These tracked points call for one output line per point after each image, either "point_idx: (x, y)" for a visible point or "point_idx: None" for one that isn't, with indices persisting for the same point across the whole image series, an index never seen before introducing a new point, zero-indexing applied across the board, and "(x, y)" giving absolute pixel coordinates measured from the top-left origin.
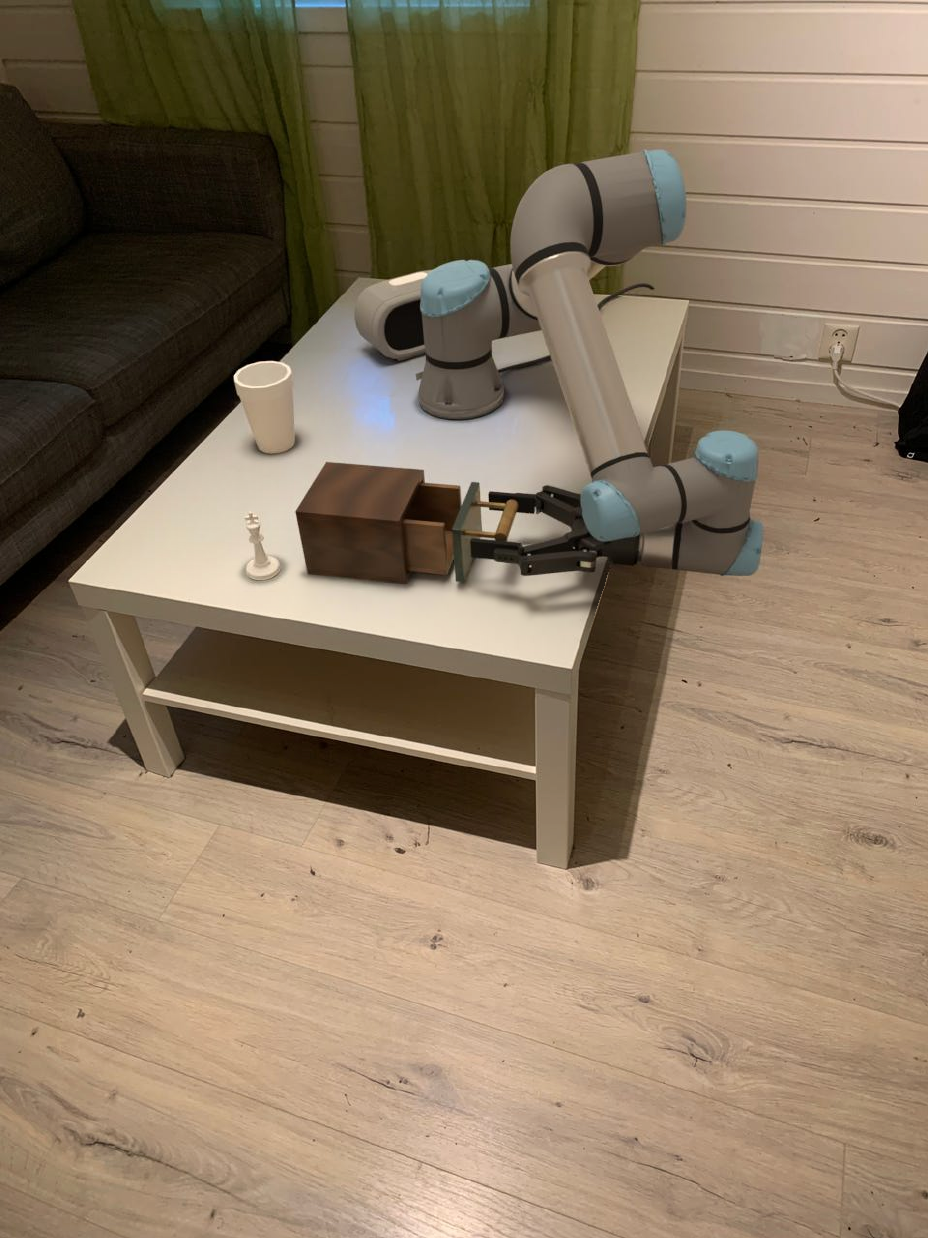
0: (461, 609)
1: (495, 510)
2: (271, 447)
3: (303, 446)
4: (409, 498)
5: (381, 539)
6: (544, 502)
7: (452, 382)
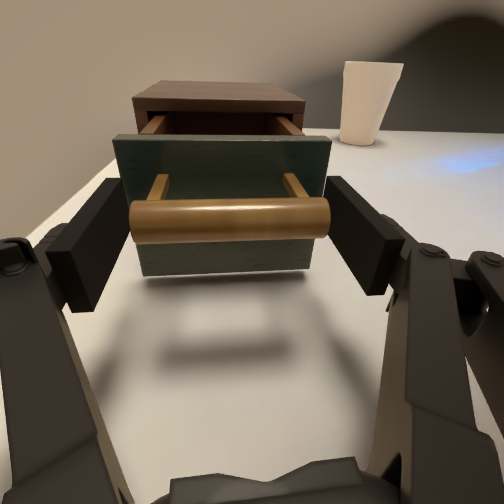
0: None
1: None
2: (342, 135)
3: (366, 148)
4: (208, 98)
5: None
6: (404, 280)
7: None
